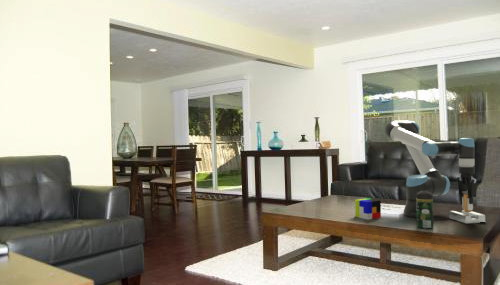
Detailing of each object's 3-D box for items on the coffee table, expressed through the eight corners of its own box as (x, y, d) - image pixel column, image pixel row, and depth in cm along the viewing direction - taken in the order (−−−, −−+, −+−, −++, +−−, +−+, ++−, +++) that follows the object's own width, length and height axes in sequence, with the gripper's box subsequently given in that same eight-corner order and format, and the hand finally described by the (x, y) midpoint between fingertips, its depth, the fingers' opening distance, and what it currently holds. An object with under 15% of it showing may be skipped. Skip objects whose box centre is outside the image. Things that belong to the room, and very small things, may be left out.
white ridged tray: (465, 223, 208) (465, 215, 208) (449, 218, 222) (449, 210, 222) (485, 222, 209) (485, 215, 209) (467, 217, 223) (467, 210, 223)
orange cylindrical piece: (466, 212, 212) (466, 192, 212) (461, 211, 216) (460, 191, 216) (474, 212, 212) (473, 191, 212) (468, 210, 217) (468, 190, 217)
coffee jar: (416, 224, 208) (416, 189, 208) (433, 225, 205) (432, 190, 205) (416, 228, 199) (416, 192, 199) (433, 229, 196) (433, 192, 196)
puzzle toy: (367, 219, 222) (367, 202, 222) (355, 216, 231) (355, 199, 231) (380, 217, 227) (380, 200, 226) (368, 214, 235) (367, 198, 235)
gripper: (483, 167, 206) (484, 211, 206) (463, 165, 223) (463, 206, 223) (470, 167, 205) (471, 212, 206) (450, 165, 222) (451, 206, 222)
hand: (467, 209), depth 214 cm, fingers closed on orange cylindrical piece, 3 cm apart
